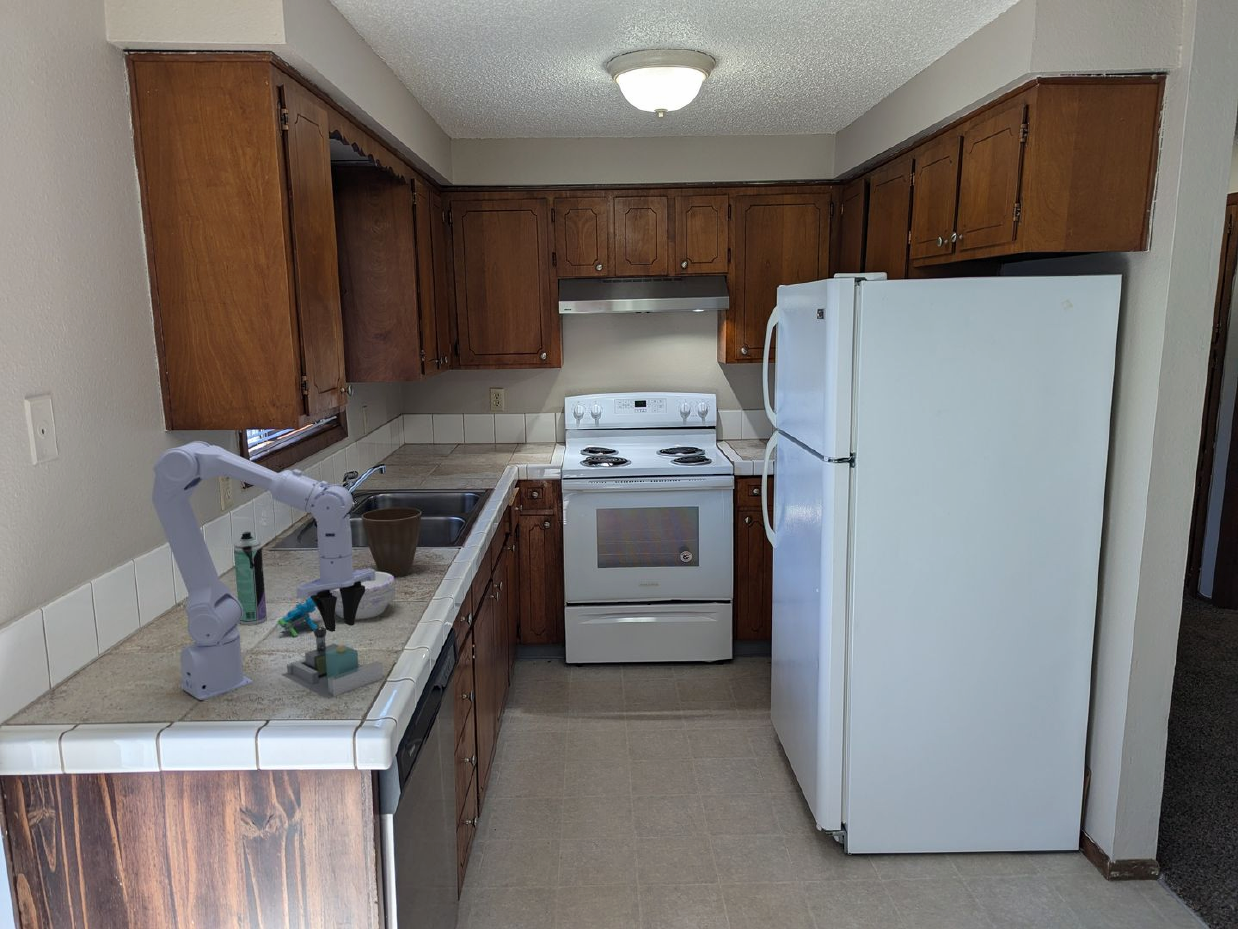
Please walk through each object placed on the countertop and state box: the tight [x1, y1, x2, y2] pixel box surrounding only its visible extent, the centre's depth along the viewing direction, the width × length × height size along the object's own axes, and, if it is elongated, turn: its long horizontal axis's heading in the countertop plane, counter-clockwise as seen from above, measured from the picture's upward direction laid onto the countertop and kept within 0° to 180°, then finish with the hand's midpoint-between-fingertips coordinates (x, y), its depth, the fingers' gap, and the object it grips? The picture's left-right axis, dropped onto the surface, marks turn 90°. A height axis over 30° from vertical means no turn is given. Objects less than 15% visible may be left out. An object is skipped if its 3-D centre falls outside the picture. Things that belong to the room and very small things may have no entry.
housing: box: [326, 645, 359, 681], centre depth 153 cm, size 4×4×6 cm
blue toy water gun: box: [277, 597, 318, 638], centre depth 179 cm, size 11×6×10 cm
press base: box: [281, 658, 388, 700], centre depth 155 cm, size 12×16×3 cm
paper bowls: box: [330, 571, 396, 621], centre depth 189 cm, size 15×15×8 cm
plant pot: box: [361, 507, 422, 578], centre depth 219 cm, size 15×15×16 cm
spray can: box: [233, 531, 267, 626], centre depth 184 cm, size 6×6×20 cm
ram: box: [304, 626, 340, 677], centre depth 157 cm, size 6×4×8 cm, turn 140°
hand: (340, 627), depth 152 cm, fingers open, 3 cm apart
